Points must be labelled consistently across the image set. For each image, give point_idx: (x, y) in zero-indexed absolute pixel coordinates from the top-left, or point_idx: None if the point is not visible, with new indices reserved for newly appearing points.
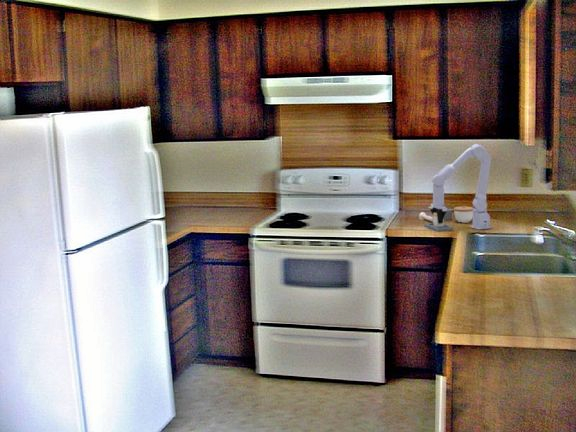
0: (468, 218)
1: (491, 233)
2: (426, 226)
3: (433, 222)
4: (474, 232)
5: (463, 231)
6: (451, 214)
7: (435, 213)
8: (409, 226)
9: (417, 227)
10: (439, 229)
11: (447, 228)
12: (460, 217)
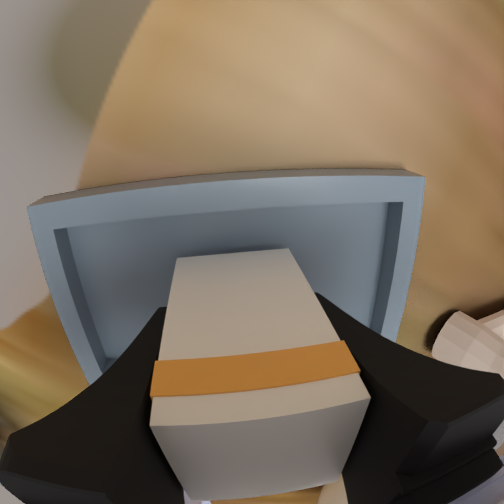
0: (318, 501)
1: (3, 449)
2: (356, 170)
3: (298, 268)
4: (12, 419)
5: (35, 394)
6: None
7: (246, 415)
8: (460, 37)
9: (391, 67)
10: (39, 230)
11: (70, 330)
12: None
